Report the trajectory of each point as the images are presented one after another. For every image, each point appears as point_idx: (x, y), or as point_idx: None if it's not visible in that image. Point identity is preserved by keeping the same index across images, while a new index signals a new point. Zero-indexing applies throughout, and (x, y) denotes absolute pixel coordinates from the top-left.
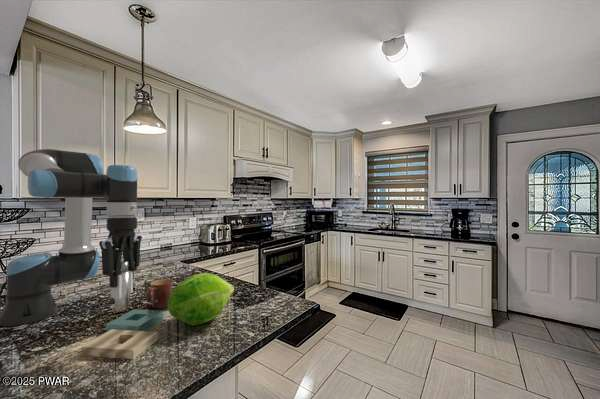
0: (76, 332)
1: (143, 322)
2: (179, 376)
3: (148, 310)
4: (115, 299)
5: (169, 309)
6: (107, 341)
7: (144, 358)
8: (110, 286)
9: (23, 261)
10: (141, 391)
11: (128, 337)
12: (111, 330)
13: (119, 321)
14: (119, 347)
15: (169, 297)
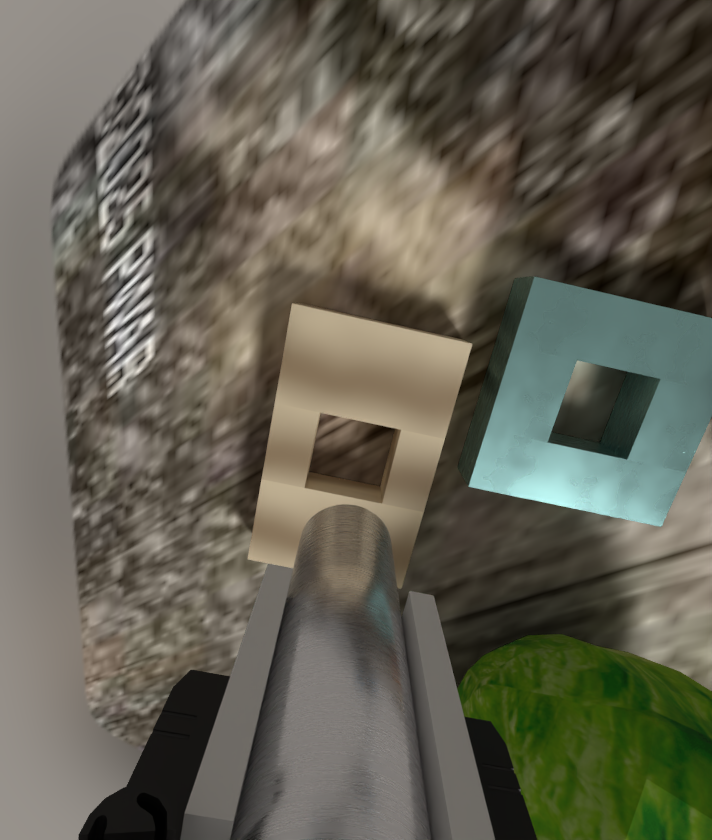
0: (570, 66)
1: (511, 488)
2: (159, 710)
3: (693, 438)
4: (297, 572)
5: (474, 689)
6: (334, 402)
7: (261, 573)
8: (178, 688)
9: None
10: (89, 638)
11: (390, 464)
12: (458, 350)
13: (558, 340)
14: (273, 491)
15: (537, 735)
